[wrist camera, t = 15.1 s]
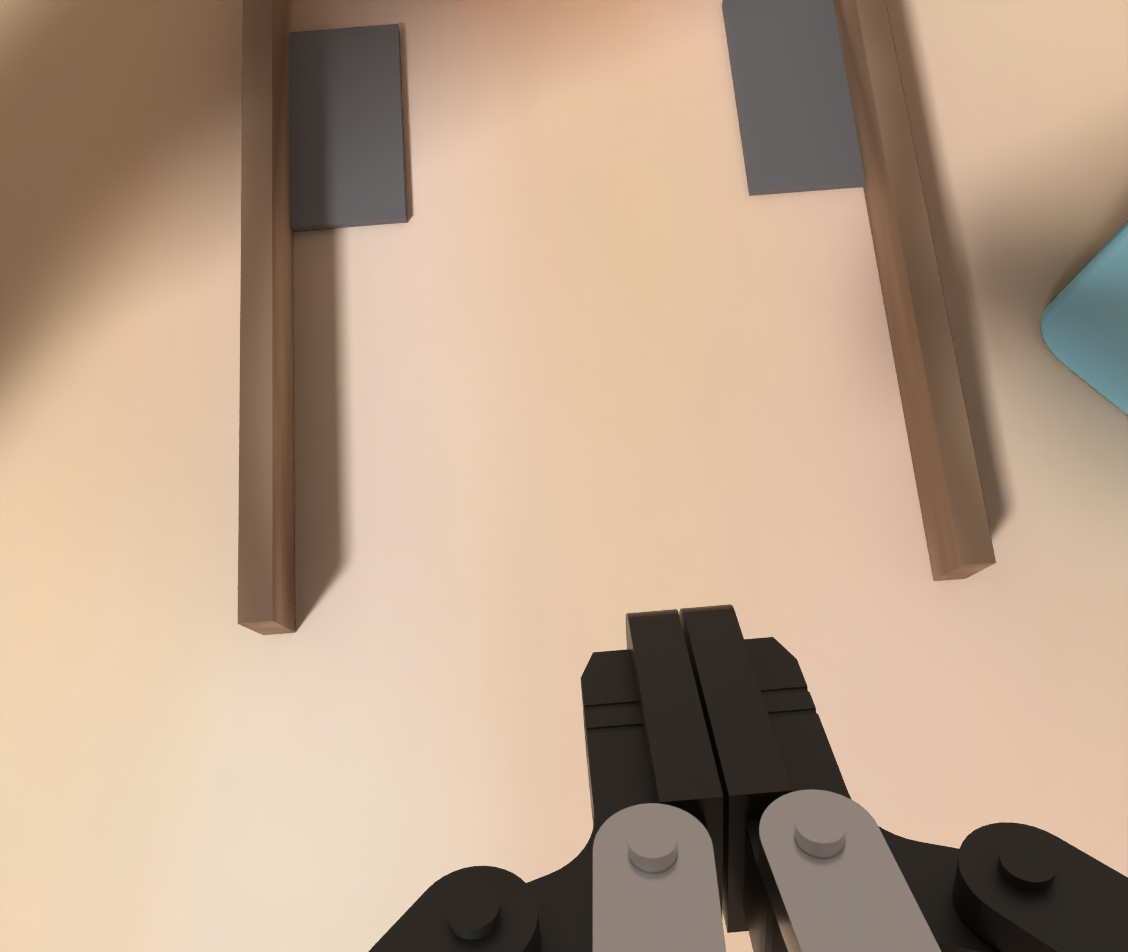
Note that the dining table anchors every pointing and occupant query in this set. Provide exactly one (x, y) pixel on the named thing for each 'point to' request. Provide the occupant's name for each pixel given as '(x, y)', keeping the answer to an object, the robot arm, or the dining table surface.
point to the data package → (1095, 322)
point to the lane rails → (900, 258)
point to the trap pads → (375, 120)
